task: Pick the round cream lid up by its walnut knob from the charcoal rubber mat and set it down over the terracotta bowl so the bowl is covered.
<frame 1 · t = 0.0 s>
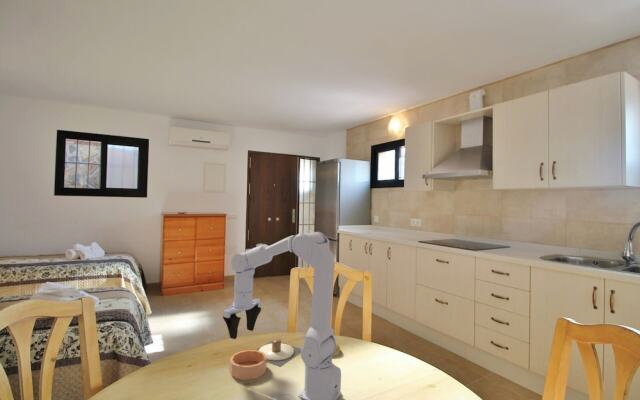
hand: (241, 333, 103), 10 cm above the table, tool pointing down, fingers open, 7 cm apart
lid: (276, 352, 112), resting on mat
bread roll: (327, 353, 114), on the table
mat: (276, 353, 112), on the table
bowl: (248, 371, 100), on the table
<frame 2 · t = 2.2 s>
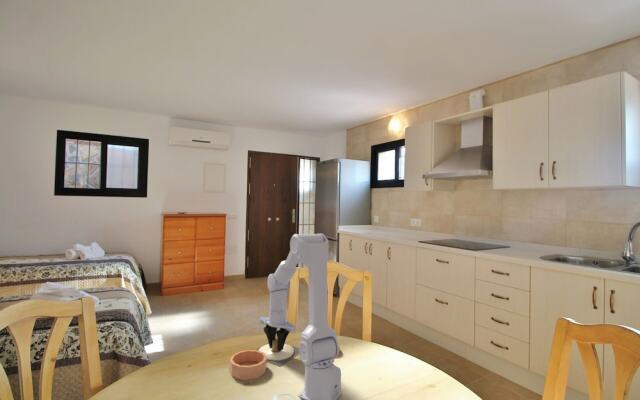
hand: (276, 348, 112), 2 cm above the table, tool pointing down, fingers closed on lid, 3 cm apart
lid: (276, 352, 112), resting on mat, touching gripper
everything else where it was.
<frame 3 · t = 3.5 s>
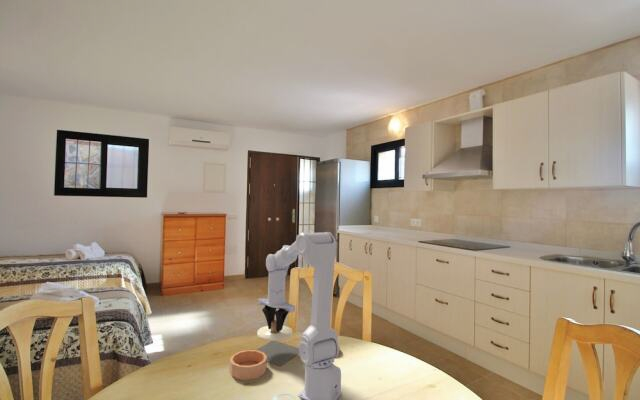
hand: (275, 329, 111), 9 cm above the table, tool pointing down, fingers closed on lid, 3 cm apart
lid: (275, 333, 111), point 7 cm above the table, touching gripper
everything else where it was.
when the fingers open (6 cm above the table, at t = 5.0 s): lid stays where it is, resting on bowl.
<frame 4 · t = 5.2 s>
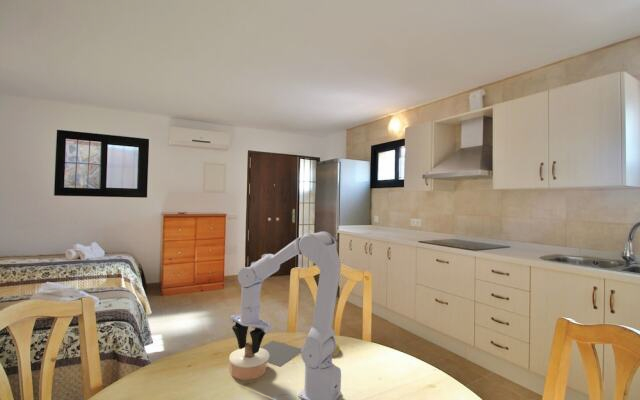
hand: (248, 350, 100), 6 cm above the table, tool pointing down, fingers open, 5 cm apart
lid: (249, 357, 100), point 4 cm above the table, touching bowl
everything else where it was.
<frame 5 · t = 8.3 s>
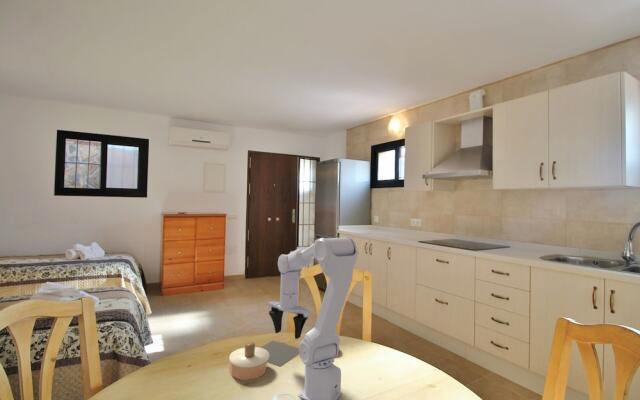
hand: (287, 334, 104), 10 cm above the table, tool pointing down, fingers open, 7 cm apart
nothing on the table moved.
at the end: lid 0.4 cm off-centre on the bowl, point 4.0 cm above the bowl's base; lid tilted 0°; lid touching bowl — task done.
